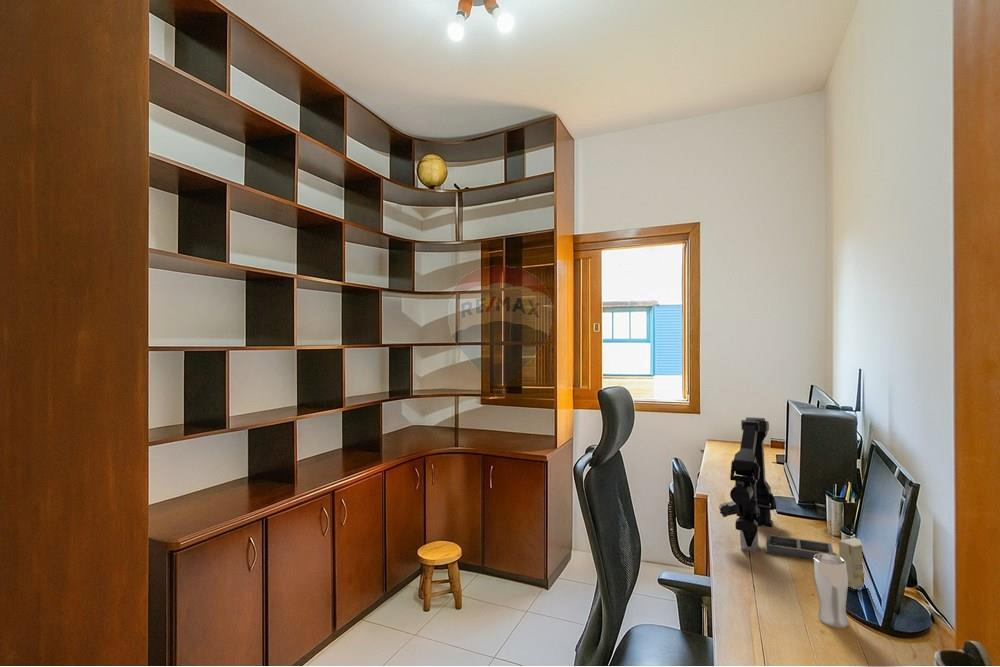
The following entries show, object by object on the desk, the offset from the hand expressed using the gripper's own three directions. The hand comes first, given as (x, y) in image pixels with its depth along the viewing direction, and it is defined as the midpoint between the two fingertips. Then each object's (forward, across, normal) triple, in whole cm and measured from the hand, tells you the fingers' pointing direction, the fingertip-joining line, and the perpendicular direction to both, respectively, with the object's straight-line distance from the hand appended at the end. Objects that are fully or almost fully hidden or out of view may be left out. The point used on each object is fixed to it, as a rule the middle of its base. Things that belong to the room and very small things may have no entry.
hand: (749, 543), depth 159 cm
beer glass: (+2, +37, +20) cm, 42 cm away
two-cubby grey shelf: (+2, -3, +14) cm, 14 cm away
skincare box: (+2, +15, +27) cm, 31 cm away
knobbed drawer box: (+2, 0, 0) cm, 2 cm away
